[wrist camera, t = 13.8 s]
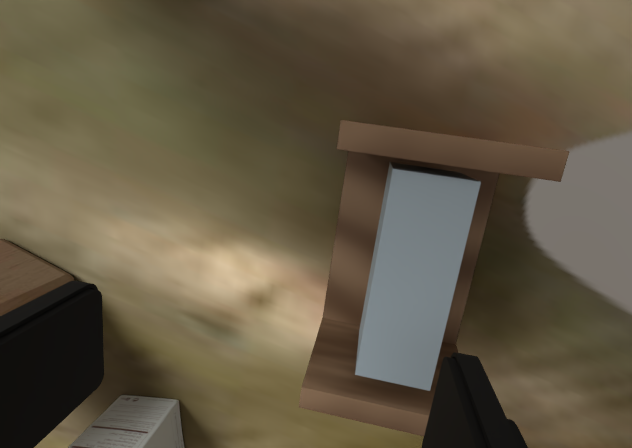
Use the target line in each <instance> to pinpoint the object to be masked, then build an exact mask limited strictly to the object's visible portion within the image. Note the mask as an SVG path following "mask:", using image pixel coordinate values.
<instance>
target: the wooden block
mask: <svg viewBox="0 0 632 448" xmlns="http://www.w3.org/2000/svg"><path fill="white" fill-rule="evenodd" d="M70 281H74V278H73V277H72V276H71V274H69V273H67V272H65V271H63V270H61V269H59V268H57V267H56V266H54V265H52V264H50V263H48V262H46V261H44V260H42V259H41V258H39V257H37V256H35V255H33V254H31V253H29V252H27V251H25V250H24V249H22V248H20V247H18V246H16V245H14V244H12V243H10V242H9V241H7V240H5V239H0V316H2V315H4V314H6V313H8V312H10V311H12V310H14V309H16V308H18V307H20V306H22V305H24V304H26V303H28V302H30V301H32V300H34V299H36V298H38V297H40V296H42V295H44V294H46V293H48V292H50V291H52V290H54V289H56V288H58V287H60V286H62V285H64V284H66V283H68V282H70Z"/></svg>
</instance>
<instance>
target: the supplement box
mask: <svg viewBox="0 0 632 448" xmlns="http://www.w3.org/2000/svg"><path fill="white" fill-rule="evenodd" d="M68 448H185V447H184V442H183V435H182V427H181V418H180V408H179V400H176V399H166V398H154V397H143V396H131V395H121V396H119V397H118V398H117V399H116V400H115V401H114V402H113V403H112V404H111V405H110V406H109V407H108V408H107V409H106V410H105V411H104V412H103V413H102V414H101V415H100V416H99V417H98V418H97V419H96V420H95V421H94V422H93V423H92V424H91V425H90V426H89V427H88V428H87V429H86V430H85V431H84V432H83V433H82V434H81V435H80V436H79V437H78V438H77V439H76V440H75V441H74V442H73V443H72V444H71V445H70V446H69V447H68Z"/></svg>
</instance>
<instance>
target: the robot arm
mask: <svg viewBox="0 0 632 448" xmlns="http://www.w3.org/2000/svg"><path fill="white" fill-rule="evenodd" d="M103 376H104V360H103V319H102V294H101V292H100V291H98V289H97V287H96V286H95V285H94V284H90V283H85V282H79V281H70V282H68V283H66V284H64V285H62V286H60V287H58V288H56V289H54V290H52V291H50V292H48V293H46V294H44V295H42V296H40V297H38V298H36V299H34V300H32V301H30V302H28V303H26V304H24V305H22V306H20V307H18V308H16V309H14V310H12V311H10V312H8V313H6V314H4V315H2V316H0V448H34V447H35V446H36V445H37V444H38V443H39V442H40V441H41V440H42V439H43V438H45V437H46V436H47V435H48V434H49V433H50V432H51V431H52V430H53V429H54V428H55V427H56V426H57V425H58V424H59V423H60V422H62V421H63V420H64V419H65V418H66V417H67V416H68V415H69V414H70V413H71V412H72V411H73V410H74V409H75V408H76V407H78V406H79V405H80V404H81V403H82V402H83V401H84V400H85V399H86V398H87V397H88V396H89V395H90V394H91V393H92V392H93V391H95V390H96V389H97V388H98V386H99V385H100V383H101V382H102V379H103ZM422 448H528V447H527V445H526V443H525V441H524V439H523V437H522V435H521V433H520V431H519V429H518V427H517V425H516V424H515V422H513V421H512V420H510V419H507V418H506V416H505V414H504V412H503V410H502V407H501V405H500V403H499V401H498V399H497V397H496V394H495V392H494V390H493V388H492V386H491V384H490V381H489V379H488V377H487V375H486V373H485V371H484V369H483V366H482V364H481V362H480V360H479V358H478V357H476V356H471V355H466V354H461V353H455V352H454V353H452V355H451V358H450V357H444V358H443V361H442V365H441V369H440V373H439V377H438V381H437V385H436V389H435V393H434V398H433V402H432V406H431V410H430V414H429V418H428V422H427V426H426V430H425V435H424V439H423V443H422Z"/></svg>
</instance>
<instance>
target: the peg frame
mask: <svg viewBox="0 0 632 448" xmlns="http://www.w3.org/2000/svg"><path fill="white" fill-rule="evenodd" d="M337 149H340V150H347V151H348V157H347V164H346V170H345V177H344V183H343V189H342V196H341V202H340V209H339V215H338V222H337V228H336V235H335V241H334V248H333V254H332V261H331V267H330V274H329V280H328V287H327V293H326V299H325V306H324V312H323V318H322V322H321V325H320V328H319V332H318V335H317V338H316V341H315V345H314V348H313V351H312V355H311V358H310V361H309V365H308V368H307V371H306V375H305V378H304V381H303V384H302V388H301V395H300V402H299V407H300V408H305V409H309V410H313V411H317V412H322V413H326V414H330V415H335V416H339V417H343V418H347V419H352V420H356V421H360V422H365V423H369V424H373V425H377V426H382V427H386V428H390V429H395V430H399V431H403V432H408V433H412V434H416V435H420V436H424V435H425V430H426V426H427V422H428V418H429V414H430V410H431V406H432V402H433V398H434V393H435V389H436V385H437V381H438V377H439V373H440V369H441V365H442V361H443V358H444V357H450V358H451V355H452V353H454V352H455V353H458V350H457V347H456V341H457V337H458V333H459V329H460V325H461V321H462V317H463V314H464V310H465V306H466V302H467V298H468V294H469V290H470V286H471V282H472V278H473V274H474V271H475V267H476V263H477V259H478V255H479V251H480V247H481V243H482V239H483V235H484V231H485V228H486V224H487V220H488V216H489V212H490V208H491V204H492V200H493V196H494V192H495V189H496V185H497V181H498V177H499V173H504V174H511V175H517V176H524V177H531V178H538V179H545V180H553V181H558V182H560V181H561V178H562V175H563V171H564V168H565V165H566V161H567V158H568V155H569V151H564V150H557V149H549V148H542V147H535V146H527V145H520V144H513V143H505V142H498V141H491V140H483V139H476V138H469V137H462V136H454V135H447V134H440V133H432V132H425V131H418V130H410V129H403V128H396V127H388V126H381V125H374V124H367V123H359V122H352V121H345V120H341V123H340V129H339V136H338V143H337ZM390 162H394V163H401V164H408V165H414V166H421V167H428V168H435V169H442V170H449V171H455V172H460V173H462V174H465V175H467V176H469V177H471V178H474V179H476V180H478V181H480V182H481V184H480V188H479V192H478V196H477V200H476V204H475V209H474V213H473V217H472V221H471V225H470V229H469V233H468V237H467V241H466V246H465V250H464V254H463V258H462V262H461V266H460V270H459V274H458V278H457V282H456V287H455V291H454V295H453V299H452V303H451V307H450V311H449V315H448V319H447V323H446V328H445V332H444V336H443V340H442V344H441V348H440V352H439V356H438V360H437V365H436V369H435V373H434V377H433V381H432V385H431V389H430V391H428V390H423V389H419V388H414V387H409V386H405V385H400V384H395V383H391V382H386V381H382V380H377V379H372V378H368V377H363V376H359V375H355V370H356V360H357V349H358V339H359V329H360V324H361V318H362V313H363V307H364V302H365V296H366V291H367V285H368V280H369V274H370V269H371V263H372V258H373V252H374V247H375V241H376V236H377V230H378V225H379V219H380V213H381V208H382V202H383V197H384V191H385V186H386V180H387V175H388V169H389V164H390Z"/></svg>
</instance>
